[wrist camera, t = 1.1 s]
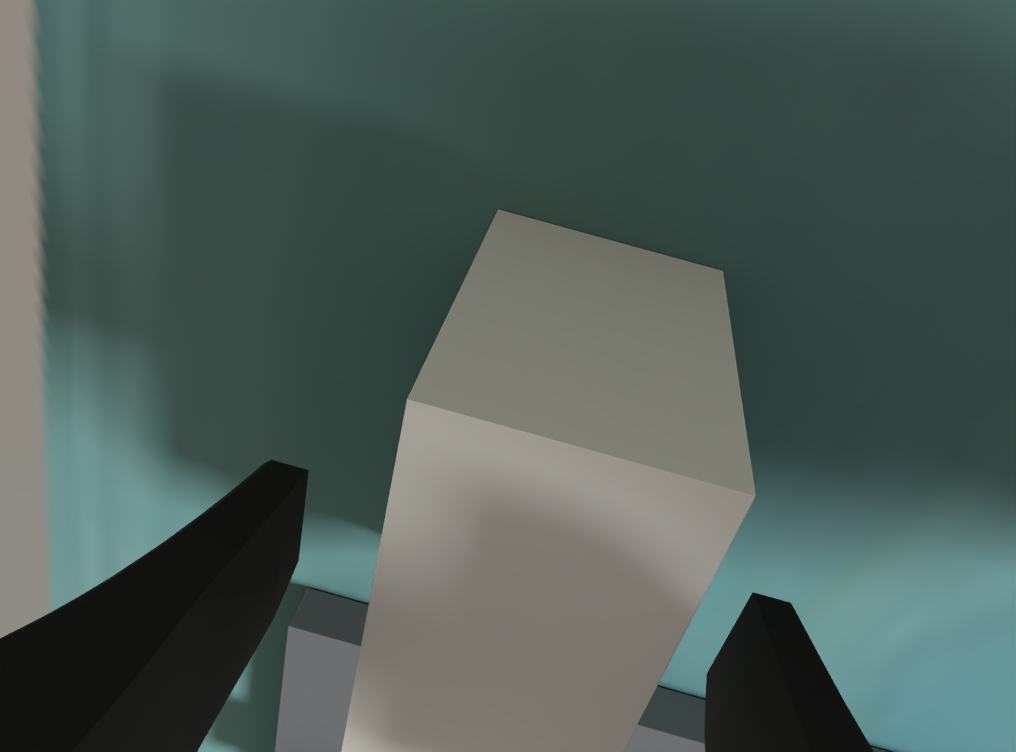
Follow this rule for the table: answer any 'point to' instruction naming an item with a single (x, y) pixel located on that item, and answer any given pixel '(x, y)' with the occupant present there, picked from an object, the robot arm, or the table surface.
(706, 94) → the table surface
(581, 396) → the block
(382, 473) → the table surface
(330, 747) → the rail board
